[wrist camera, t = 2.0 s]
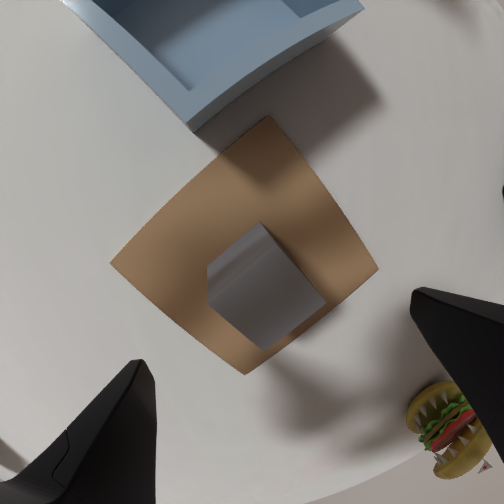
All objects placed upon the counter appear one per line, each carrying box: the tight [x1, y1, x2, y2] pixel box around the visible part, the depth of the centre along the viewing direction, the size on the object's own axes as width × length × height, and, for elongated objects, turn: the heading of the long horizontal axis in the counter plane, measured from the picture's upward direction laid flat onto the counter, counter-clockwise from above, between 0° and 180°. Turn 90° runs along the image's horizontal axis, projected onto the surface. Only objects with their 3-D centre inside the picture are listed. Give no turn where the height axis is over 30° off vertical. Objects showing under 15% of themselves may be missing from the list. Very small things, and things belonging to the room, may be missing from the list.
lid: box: [110, 115, 379, 375], centre depth 12 cm, size 10×10×4 cm
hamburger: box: [406, 381, 492, 479], centre depth 16 cm, size 8×7×12 cm
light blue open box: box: [61, 0, 365, 133], centre depth 7 cm, size 8×8×4 cm
